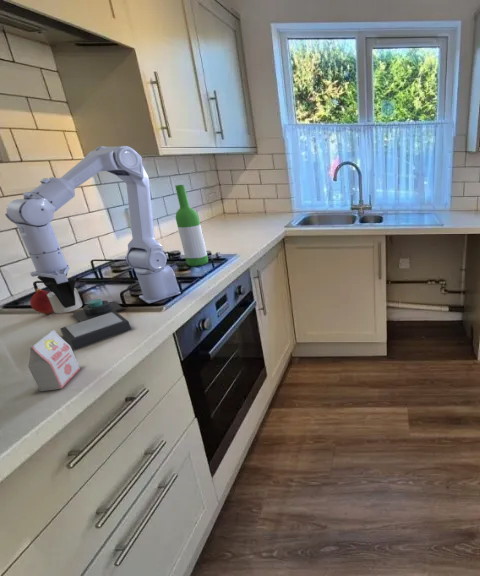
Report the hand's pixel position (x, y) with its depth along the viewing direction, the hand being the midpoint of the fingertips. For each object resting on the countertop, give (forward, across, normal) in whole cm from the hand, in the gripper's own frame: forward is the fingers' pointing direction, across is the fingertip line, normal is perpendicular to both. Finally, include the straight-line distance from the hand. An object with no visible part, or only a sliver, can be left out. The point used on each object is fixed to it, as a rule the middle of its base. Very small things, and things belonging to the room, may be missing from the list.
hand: (66, 303), depth 90 cm
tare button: (+6, -9, +7) cm, 13 cm away
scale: (+8, +5, +3) cm, 10 cm away
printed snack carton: (+8, +22, -8) cm, 25 cm away
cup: (+1, 0, 0) cm, 1 cm away
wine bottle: (+9, -28, +45) cm, 54 cm away
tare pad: (+8, -9, +7) cm, 14 cm away
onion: (+9, -20, -2) cm, 22 cm away
